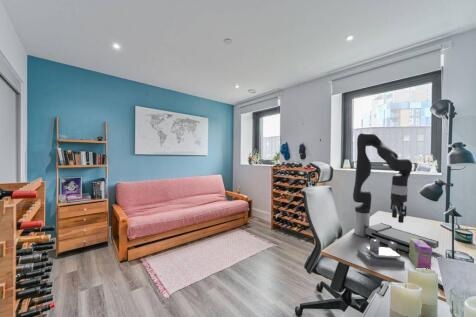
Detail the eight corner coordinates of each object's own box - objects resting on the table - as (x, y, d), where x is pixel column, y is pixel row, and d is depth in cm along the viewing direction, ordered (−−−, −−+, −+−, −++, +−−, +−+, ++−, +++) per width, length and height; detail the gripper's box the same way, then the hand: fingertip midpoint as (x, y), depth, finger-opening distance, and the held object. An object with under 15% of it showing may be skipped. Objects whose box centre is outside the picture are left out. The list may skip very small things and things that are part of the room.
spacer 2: (386, 250, 124) (386, 241, 123) (393, 250, 123) (393, 241, 123) (391, 254, 119) (391, 244, 119) (398, 254, 119) (399, 244, 119)
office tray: (423, 260, 113) (423, 246, 112) (365, 238, 141) (365, 227, 141) (438, 252, 122) (438, 239, 122) (380, 233, 151) (381, 223, 150)
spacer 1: (368, 248, 114) (368, 238, 114) (375, 249, 114) (376, 238, 114) (372, 252, 110) (373, 241, 110) (380, 252, 110) (381, 242, 109)
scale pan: (365, 248, 117) (366, 246, 117) (388, 249, 116) (388, 247, 116) (375, 256, 108) (375, 254, 108) (400, 257, 107) (400, 255, 107)
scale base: (357, 254, 118) (357, 248, 118) (388, 255, 117) (388, 249, 117) (369, 265, 106) (369, 259, 106) (404, 267, 105) (404, 260, 105)
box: (431, 270, 103) (432, 247, 103) (417, 267, 105) (418, 245, 105) (421, 260, 113) (422, 239, 112) (408, 258, 115) (409, 238, 114)
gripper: (386, 189, 124) (385, 215, 125) (396, 195, 110) (395, 223, 111) (401, 190, 121) (399, 216, 122) (413, 196, 108) (411, 225, 109)
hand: (397, 220), depth 117 cm, fingers open, 8 cm apart
